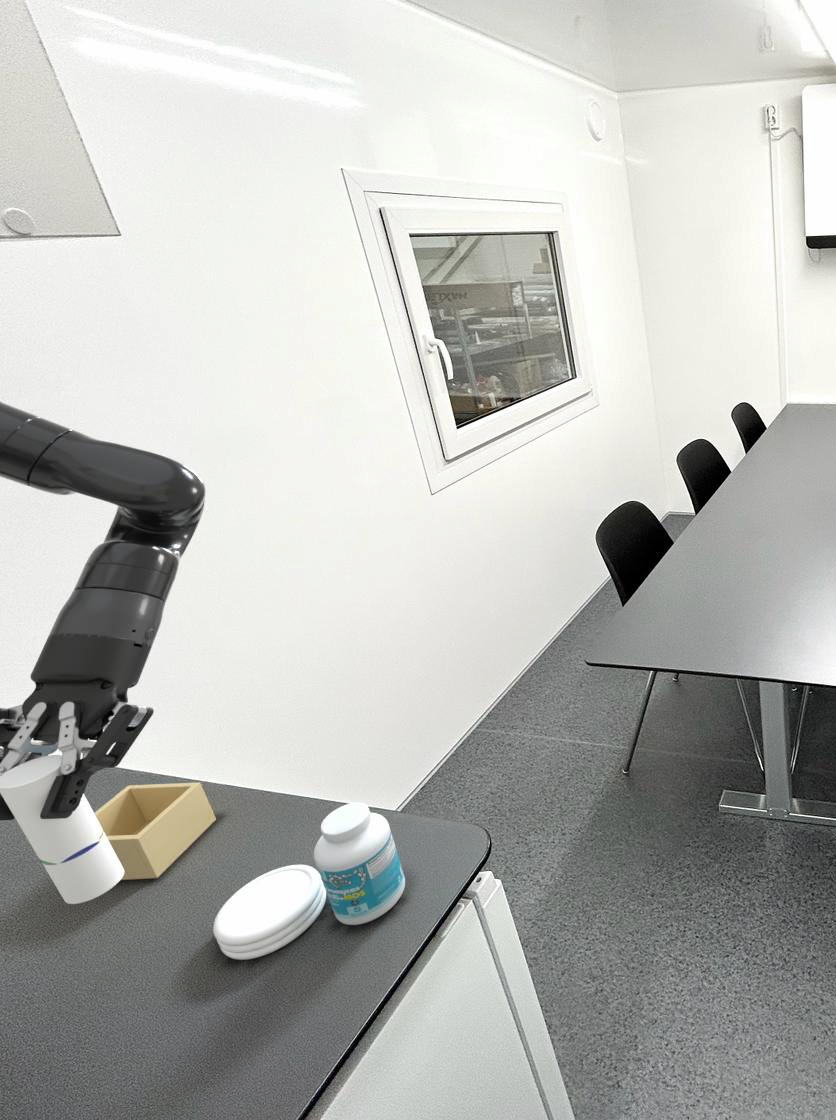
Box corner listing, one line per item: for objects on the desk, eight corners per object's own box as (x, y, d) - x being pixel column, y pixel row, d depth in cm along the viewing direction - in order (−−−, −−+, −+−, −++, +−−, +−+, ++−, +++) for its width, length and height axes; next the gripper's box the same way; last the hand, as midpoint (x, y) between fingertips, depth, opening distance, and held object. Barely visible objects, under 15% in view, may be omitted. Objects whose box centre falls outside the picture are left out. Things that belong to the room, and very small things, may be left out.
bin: (79, 882, 79) (56, 842, 77) (146, 822, 88) (128, 785, 86) (157, 878, 80) (137, 838, 77) (216, 819, 89) (200, 782, 86)
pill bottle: (320, 920, 75) (287, 836, 70) (373, 868, 81) (347, 788, 77) (371, 935, 73) (341, 850, 68) (421, 880, 80) (397, 799, 75)
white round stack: (251, 977, 69) (241, 956, 67) (203, 939, 72) (193, 918, 71) (345, 901, 77) (338, 880, 76) (298, 871, 81) (290, 851, 80)
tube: (81, 873, 65) (17, 761, 60) (133, 861, 67) (76, 750, 61) (52, 909, 61) (-19, 793, 56) (108, 896, 63) (44, 781, 57)
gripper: (-11, 632, 61) (-107, 824, 54) (142, 629, 62) (66, 818, 55) (67, 648, 68) (-9, 821, 61) (204, 645, 69) (144, 815, 62)
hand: (27, 818), depth 58 cm, fingers closed on tube, 4 cm apart
